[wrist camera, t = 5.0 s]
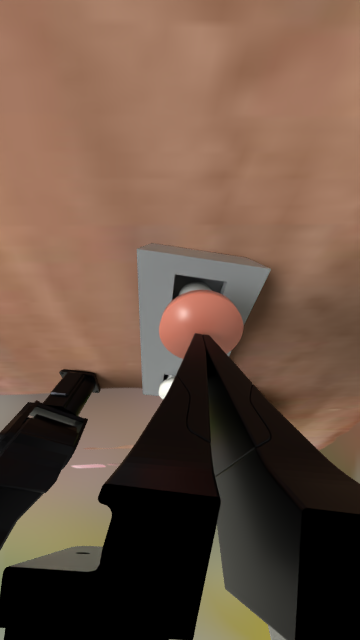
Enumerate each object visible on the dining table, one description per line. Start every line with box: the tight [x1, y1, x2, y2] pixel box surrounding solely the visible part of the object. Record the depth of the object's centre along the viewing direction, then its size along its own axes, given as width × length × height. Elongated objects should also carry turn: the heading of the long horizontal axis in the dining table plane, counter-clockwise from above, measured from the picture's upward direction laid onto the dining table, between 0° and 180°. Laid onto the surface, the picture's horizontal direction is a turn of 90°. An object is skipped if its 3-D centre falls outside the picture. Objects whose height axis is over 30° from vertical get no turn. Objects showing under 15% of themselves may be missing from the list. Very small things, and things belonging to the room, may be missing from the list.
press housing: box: [137, 243, 271, 396], centre depth 18 cm, size 20×10×5 cm, turn 173°
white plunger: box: [159, 375, 175, 399], centre depth 20 cm, size 5×5×5 cm
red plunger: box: [159, 282, 243, 359], centre depth 10 cm, size 5×5×5 cm
